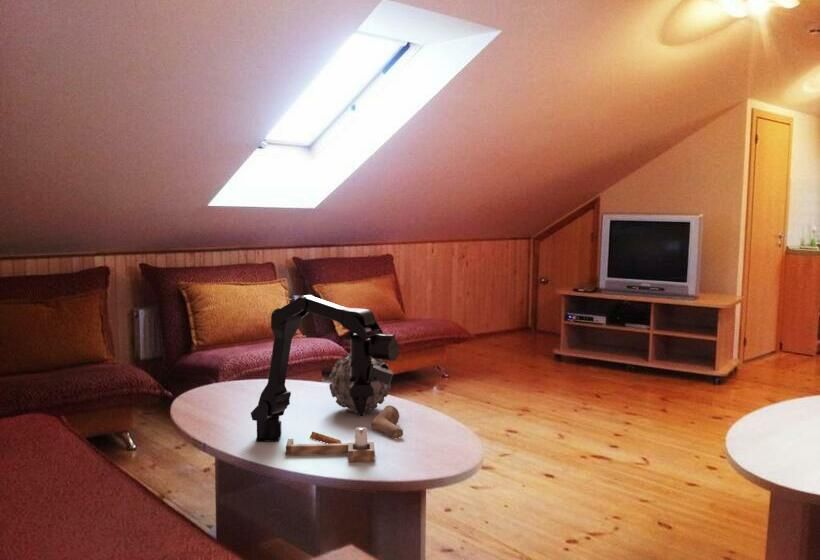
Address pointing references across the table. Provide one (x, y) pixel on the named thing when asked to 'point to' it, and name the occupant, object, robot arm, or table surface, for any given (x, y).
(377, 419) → the pipe
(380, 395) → the ornament
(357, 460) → the dock
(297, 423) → the table surface
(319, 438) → the chocolate bar
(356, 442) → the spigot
